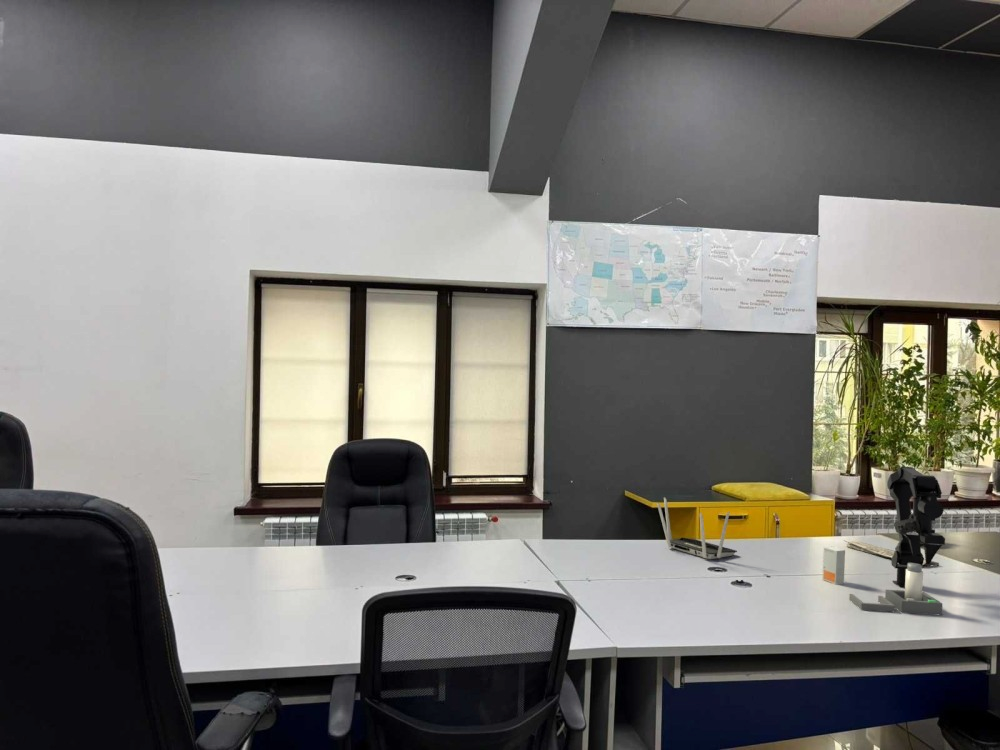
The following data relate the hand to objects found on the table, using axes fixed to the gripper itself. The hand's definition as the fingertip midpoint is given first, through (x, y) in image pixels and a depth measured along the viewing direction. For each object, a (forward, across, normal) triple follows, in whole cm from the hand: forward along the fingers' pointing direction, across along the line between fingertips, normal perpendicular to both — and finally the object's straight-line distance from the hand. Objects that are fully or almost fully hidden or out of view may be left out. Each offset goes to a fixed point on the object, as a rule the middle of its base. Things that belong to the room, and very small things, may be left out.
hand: (921, 559), depth 241 cm
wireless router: (+13, -45, -66) cm, 81 cm away
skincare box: (+13, -14, -23) cm, 30 cm away
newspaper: (+14, -59, +14) cm, 62 cm away
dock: (+13, +11, -7) cm, 18 cm away
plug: (+12, +11, -7) cm, 18 cm away
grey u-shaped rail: (+13, +12, -20) cm, 27 cm away
